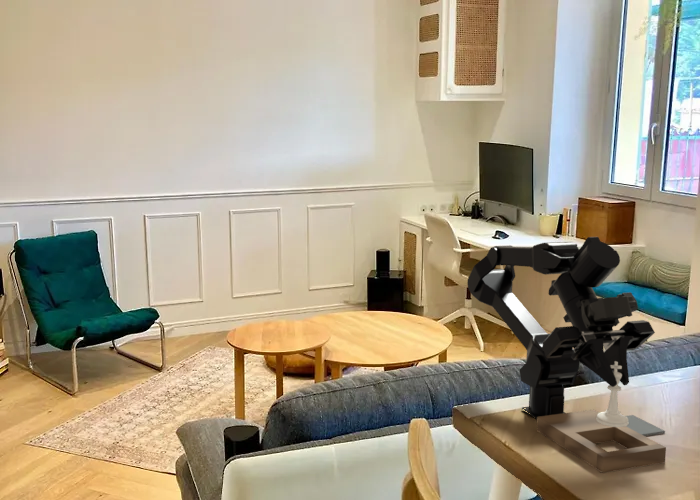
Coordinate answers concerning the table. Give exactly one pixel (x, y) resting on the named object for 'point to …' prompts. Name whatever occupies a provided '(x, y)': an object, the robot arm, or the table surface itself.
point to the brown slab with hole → (600, 441)
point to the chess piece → (613, 404)
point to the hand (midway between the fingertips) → (620, 384)
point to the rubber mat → (642, 426)
